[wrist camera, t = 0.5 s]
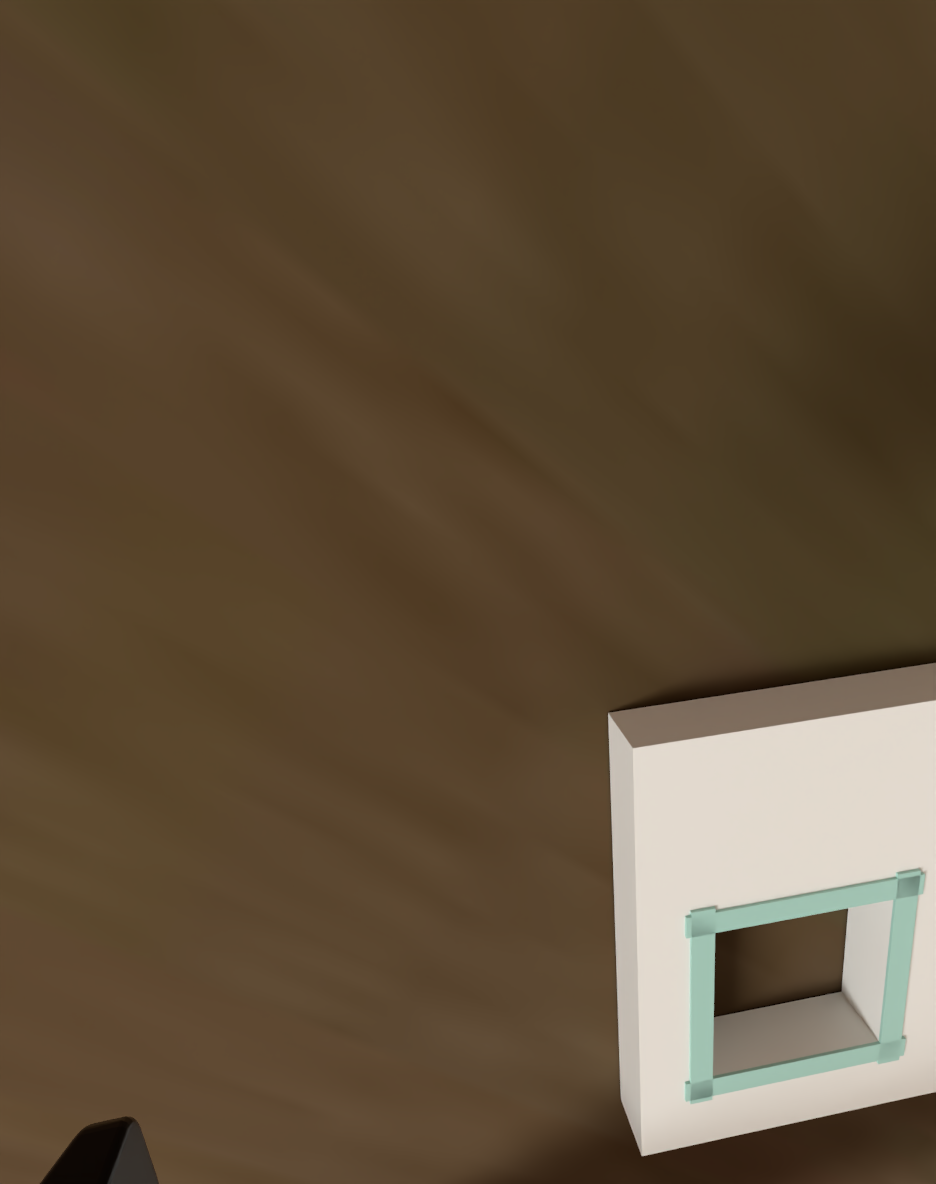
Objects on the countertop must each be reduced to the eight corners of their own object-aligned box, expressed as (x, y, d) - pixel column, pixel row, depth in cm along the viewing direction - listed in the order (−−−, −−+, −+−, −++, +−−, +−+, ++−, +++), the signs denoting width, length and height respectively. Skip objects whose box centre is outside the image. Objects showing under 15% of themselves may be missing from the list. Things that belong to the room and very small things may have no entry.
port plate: (896, 1041, 29) (938, 1094, 27) (620, 1098, 27) (642, 1159, 25) (939, 662, 24) (994, 693, 22) (608, 712, 23) (634, 750, 21)
